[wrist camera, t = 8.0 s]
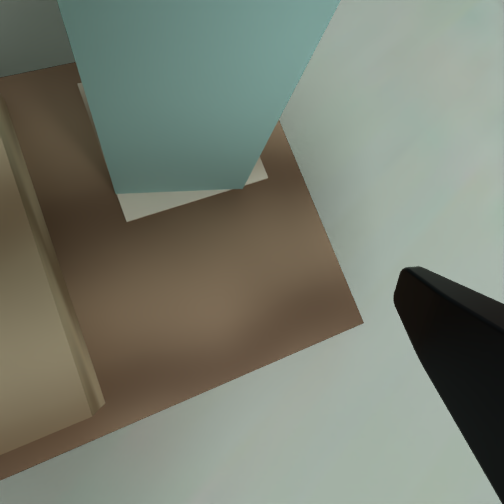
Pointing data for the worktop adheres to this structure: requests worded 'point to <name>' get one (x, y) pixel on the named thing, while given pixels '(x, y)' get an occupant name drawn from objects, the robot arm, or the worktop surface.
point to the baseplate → (170, 266)
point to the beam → (35, 317)
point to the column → (189, 83)
